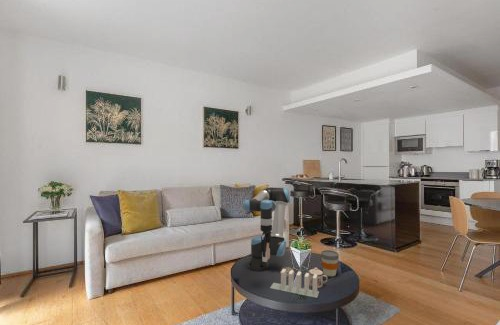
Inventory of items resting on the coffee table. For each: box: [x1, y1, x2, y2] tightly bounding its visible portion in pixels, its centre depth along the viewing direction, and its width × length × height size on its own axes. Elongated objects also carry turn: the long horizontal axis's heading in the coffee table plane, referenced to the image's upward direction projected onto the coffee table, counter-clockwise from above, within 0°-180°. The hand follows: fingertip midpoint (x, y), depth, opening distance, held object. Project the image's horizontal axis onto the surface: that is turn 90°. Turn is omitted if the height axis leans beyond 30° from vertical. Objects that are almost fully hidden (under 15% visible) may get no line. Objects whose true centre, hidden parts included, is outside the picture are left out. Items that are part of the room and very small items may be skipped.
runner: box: [269, 282, 320, 299], centre depth 168 cm, size 30×8×1 cm, turn 67°
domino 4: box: [295, 271, 302, 293], centre depth 167 cm, size 2×6×11 cm, turn 157°
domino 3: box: [287, 269, 295, 291], centre depth 168 cm, size 2×6×11 cm, turn 157°
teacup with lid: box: [308, 267, 328, 289], centre depth 175 cm, size 12×9×12 cm
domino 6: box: [312, 274, 318, 296], centre depth 163 cm, size 2×6×11 cm, turn 157°
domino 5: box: [303, 272, 310, 296], centre depth 165 cm, size 2×6×11 cm, turn 157°
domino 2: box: [280, 268, 287, 291], centre depth 170 cm, size 2×6×11 cm, turn 157°
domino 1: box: [266, 242, 270, 262], centre depth 172 cm, size 2×6×11 cm, turn 157°
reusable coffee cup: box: [320, 249, 340, 277], centre depth 193 cm, size 13×13×15 cm
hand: (266, 259), depth 172 cm, fingers closed on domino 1, 6 cm apart
